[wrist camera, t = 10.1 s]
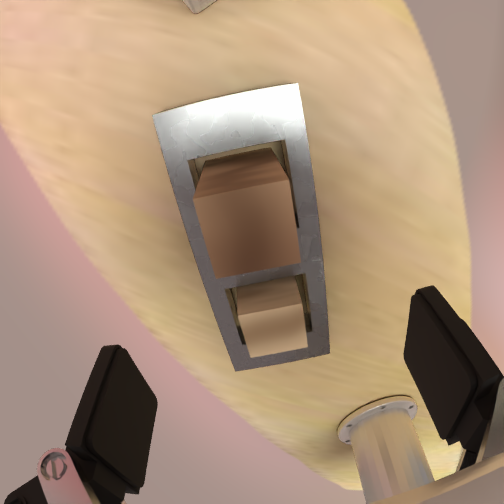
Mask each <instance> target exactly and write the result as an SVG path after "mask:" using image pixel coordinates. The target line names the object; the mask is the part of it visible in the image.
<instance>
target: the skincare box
mask: <svg viewBox="0 0 504 504" xmlns="http://www.w3.org/2000/svg"><path fill="white" fill-rule="evenodd" d="M182 1H183V2H184V3H185V4H186V5H187V6H188V8H189V9H190V10H191V11H192V12H193V13H199V12H200V11H202V10H203V9H205V8H206V7H208V6H209V5H210V4H212V3H213V2H215V1H217V0H182Z"/></svg>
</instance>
